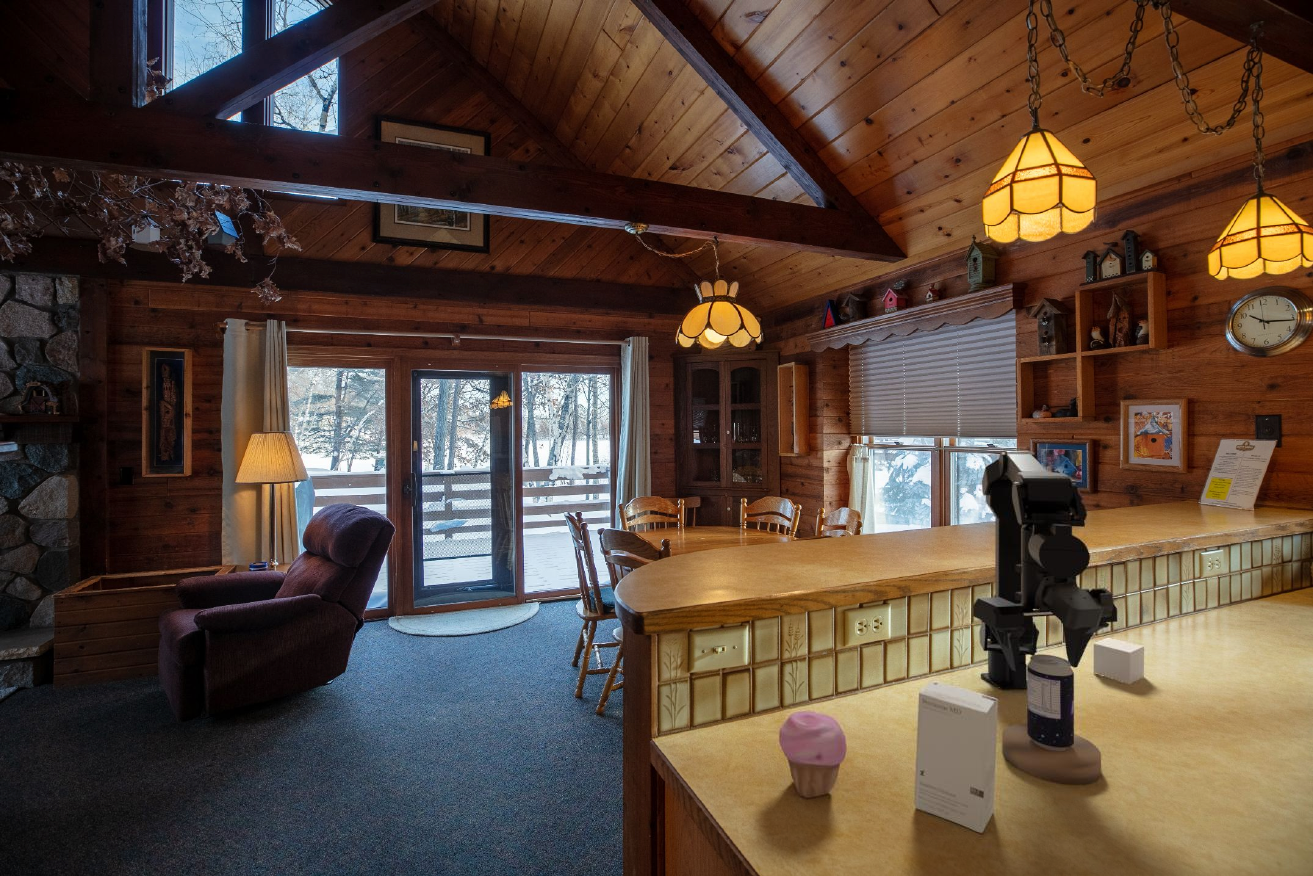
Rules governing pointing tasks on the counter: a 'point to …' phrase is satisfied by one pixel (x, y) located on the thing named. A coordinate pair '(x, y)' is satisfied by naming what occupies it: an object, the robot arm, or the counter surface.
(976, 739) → the skincare box
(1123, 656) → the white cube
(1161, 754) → the counter surface
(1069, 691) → the beverage can
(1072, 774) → the walnut base
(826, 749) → the cupcake
